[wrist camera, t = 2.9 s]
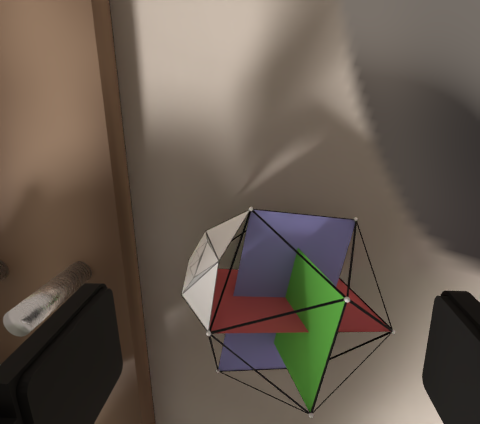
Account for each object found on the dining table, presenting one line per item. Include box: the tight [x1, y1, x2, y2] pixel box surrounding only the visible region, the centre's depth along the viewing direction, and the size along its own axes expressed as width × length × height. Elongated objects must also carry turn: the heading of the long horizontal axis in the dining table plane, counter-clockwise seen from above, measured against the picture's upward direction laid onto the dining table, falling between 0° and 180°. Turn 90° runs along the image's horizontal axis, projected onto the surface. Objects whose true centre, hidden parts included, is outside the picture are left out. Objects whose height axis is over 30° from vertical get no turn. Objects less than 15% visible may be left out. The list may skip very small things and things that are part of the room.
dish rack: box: [0, 0, 155, 424], centre depth 17 cm, size 12×25×2 cm, turn 1°
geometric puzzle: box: [182, 207, 395, 418], centre depth 13 cm, size 7×7×8 cm
